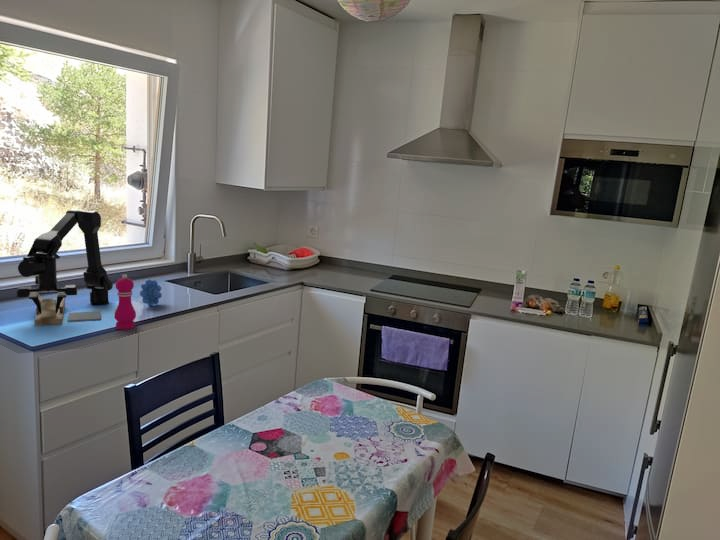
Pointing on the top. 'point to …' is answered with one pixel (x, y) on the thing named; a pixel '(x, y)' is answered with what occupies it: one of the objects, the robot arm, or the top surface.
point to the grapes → (150, 292)
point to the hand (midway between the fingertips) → (48, 313)
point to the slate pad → (84, 316)
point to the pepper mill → (125, 304)
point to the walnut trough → (50, 320)
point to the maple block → (48, 307)
